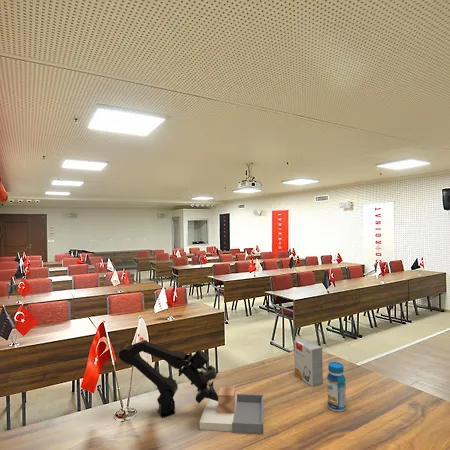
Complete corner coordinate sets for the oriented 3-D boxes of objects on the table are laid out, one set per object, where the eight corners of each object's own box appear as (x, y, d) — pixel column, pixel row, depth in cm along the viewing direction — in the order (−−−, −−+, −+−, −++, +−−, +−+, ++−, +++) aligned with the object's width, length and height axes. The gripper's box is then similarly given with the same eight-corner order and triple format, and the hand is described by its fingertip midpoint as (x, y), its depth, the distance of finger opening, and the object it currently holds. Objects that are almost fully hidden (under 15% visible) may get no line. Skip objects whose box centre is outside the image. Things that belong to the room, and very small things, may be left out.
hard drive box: (294, 375, 185) (293, 340, 185) (304, 372, 188) (304, 338, 188) (312, 387, 171) (311, 349, 171) (323, 383, 174) (322, 346, 174)
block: (218, 412, 144) (217, 394, 144) (220, 404, 151) (220, 387, 151) (233, 413, 143) (233, 395, 143) (235, 405, 150) (235, 387, 150)
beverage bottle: (348, 413, 146) (346, 368, 147) (328, 411, 148) (327, 367, 148) (344, 402, 155) (343, 361, 155) (326, 401, 156) (325, 360, 156)
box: (232, 432, 135) (232, 422, 135) (237, 401, 158) (237, 393, 158) (263, 434, 133) (263, 424, 133) (263, 402, 156) (263, 394, 156)
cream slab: (199, 429, 137) (199, 422, 137) (208, 401, 159) (208, 395, 159) (232, 431, 135) (232, 424, 135) (237, 402, 157) (236, 396, 157)
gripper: (202, 372, 139) (228, 398, 137) (209, 355, 157) (232, 378, 156) (184, 390, 140) (210, 416, 138) (194, 370, 158) (217, 394, 157)
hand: (218, 400), depth 147 cm, fingers closed, pressing on block
